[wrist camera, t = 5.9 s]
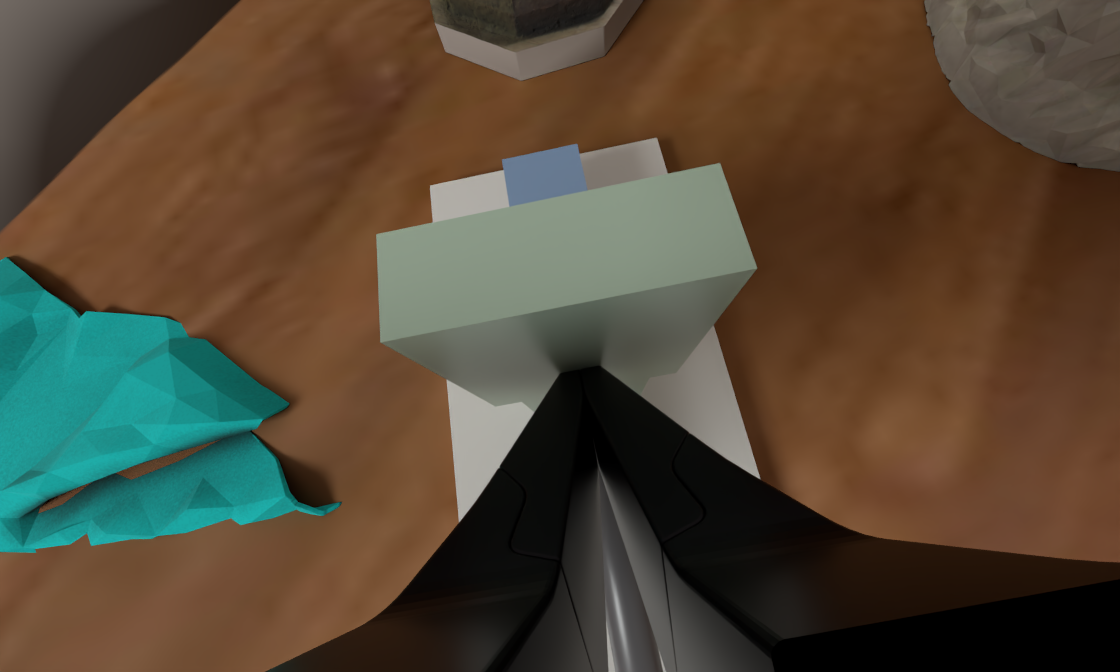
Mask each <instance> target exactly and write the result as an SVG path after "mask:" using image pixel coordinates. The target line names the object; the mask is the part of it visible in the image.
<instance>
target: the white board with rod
mask: <svg viewBox="0 0 1120 672" xmlns="http://www.w3.org/2000/svg"><path fill="white" fill-rule="evenodd" d="M502 163H503V169H504V170H502V171H497V172H492V173H487V174H483V175H478V176H473V177H468V178H464V179H459V180H454V181H450V182H445V183H440V184H435V185H431V186H430V193H431V204H432V216H433V223H434V222H438V221H443V220H448V219H453V218H458V217H462V216H467V215H472V214H477V213H482V212H486V211H491V210H496V209H501V208H506V207H511V206H515V205H520V204H525V203H530V202H535V201H539V200H544V199H549V198H554V197H559V196H563V195H568V194H573V193H578V192H583V191H587V190H592V189H597V188H602V187H607V186H612V185H616V184H621V183H626V182H631V181H636V180H640V179H645V178H650V177H655V176H660V175H664V174H668V173H667V170H666V166H665V163H664V160H663V156H662V153H661V150H660V146H659V143H658V140H657V138H653V139H648V140H643V141H639V142H634V143H629V144H624V145H620V146H615V147H610V148H605V149H601V150H596V151H591V152H587V153H582V154H579V150H578V145H577V144H574V145H569V146H564V147H560V148H555V149H550V150H546V151H541V152H536V153H531V154H527V155H522V156H517V157H513V158H508V159H503V160H502ZM447 388H448V400H449V411H450V423H451V434H452V446H453V457H454V469H455V480H456V492H457V503H458V515H459V522H460V521H461V519H462V518H463V517H464V516H465V514H466V513H467V512H468V510H469V509H470V508H471V507H472V505H473V504H474V503H475V501H476V500H477V498H478V497H479V496H480V494H481V493H482V491H483V490H484V488H485V487H486V486H487V484H488V483H489V481H490V480H491V478H492V477H493V475H494V473H495V472H496V470H497V469H498V468H500V464H501V463H502V461H503V460H504V458H505V457H506V455H507V454H508V452H509V451H510V449H511V448H512V446H513V444H514V443H515V441H516V440H517V438H518V437H519V435H520V434H521V432H522V431H523V429H524V427H525V426H526V424H527V423H528V421H529V420H530V418H531V417H532V415H533V414H534V411H532V410H531V409H530V408H529V407H527V406H526V405H525V404H524V403H522V402H518V403H512V404H507V405H502V406H496V407H495V406H493V405H492V404H490V403H488V402H486V401H484V400H483V399H481V398H479V397H477V396H475V395H474V394H472V393H470V392H468V391H467V390H465V389H463V388H461V387H459V386H458V385H456V384H454V383H452V382H450V381H449V380H447ZM640 396H642V397H643V398H644V399H646V400H647V401H648V402H650V403H651V404H652V405H654V406H655V407H656V408H658V409H659V410H660V411H662V412H663V413H664V414H666V415H667V416H668V417H670V418H671V419H672V420H674V421H675V422H676V423H678V424H679V425H680V426H682V427H683V428H684V429H686V430H687V431H688V432H689V434H693V435H694V436H695V437H697V438H698V439H699V440H701V441H702V442H703V443H705V444H706V445H708V446H709V447H710V448H712V449H713V450H715V451H716V452H717V453H719V454H720V455H722V456H723V457H725V458H726V459H728V460H729V461H731V462H733V463H734V464H736V465H737V466H739V467H741V468H742V469H744V470H746V471H747V472H749V473H750V474H752V475H754V476H755V477H757V478H759V479H760V476H759V473H758V470H757V466H756V463H755V460H754V456H753V453H752V450H751V446H750V443H749V440H748V437H747V433H746V430H745V427H744V423H743V420H742V417H741V414H740V410H739V407H738V404H737V400H736V397H735V394H734V390H733V387H732V384H731V381H730V377H729V374H728V371H727V367H726V364H725V361H724V357H723V354H722V351H721V348H720V344H719V341H718V338H717V334H716V331H715V328H714V325H713V326H712V327H711V329H710V330H709V331H708V333H707V334H706V335H705V336H704V338H703V339H702V340H701V342H700V343H699V344H698V345H697V347H696V348H695V349H694V351H693V352H692V353H691V354H690V356H689V357H688V358H687V360H686V361H685V362H684V364H683V365H682V366H681V367H680V369H679V370H678V371H677V373H672V374H667V375H662V376H656V377H651V378H649V380H648V382H647V384H646V386H645V387H644V389H643V391H642V393H641V395H640ZM595 451H596V450H595ZM596 456H597V455H596ZM597 462H598V460H597ZM598 470H599V484H600V505H601V526H602V546H603V567H604V588H605V608H606V629H607V650H608V670H609V672H666V670H665V667H664V664H663V661H662V658H661V655H660V652H659V649H658V646H657V643H656V640H655V636H654V633H653V630H652V627H651V624H650V621H649V618H648V615H647V612H646V609H645V606H644V603H643V600H642V597H641V594H640V591H639V588H638V585H637V582H636V579H635V576H634V573H633V570H632V567H631V564H630V561H629V558H628V555H627V551H626V548H625V545H624V542H623V539H622V536H621V533H620V530H619V527H618V524H617V521H616V518H615V515H614V512H613V509H612V506H611V503H610V500H609V497H608V494H607V491H606V488H605V485H604V482H603V479H602V475H601V472H600V468H599V464H598Z"/></svg>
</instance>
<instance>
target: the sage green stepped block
mask: <svg viewBox="0 0 1120 672" xmlns="http://www.w3.org/2000/svg"><path fill="white" fill-rule="evenodd" d="M376 236H377V262H378V289H379V316H380V342H381V343H382V344H384V345H386V346H388V347H390V348H391V349H393V350H395V351H397V352H399V353H400V354H402V355H404V356H406V357H408V358H409V359H411V360H413V361H415V362H416V363H418V364H420V365H422V366H424V367H425V368H427V369H429V370H431V371H433V372H434V373H436V374H438V375H440V376H441V377H443V378H445V379H447V380H449V381H450V382H452V383H454V384H456V385H458V386H459V387H461V388H463V389H465V390H467V391H468V392H470V393H472V394H474V395H475V396H477V397H479V398H481V399H483V400H484V401H486V402H488V403H490V404H492V405H493V406H495V407H496V406H502V405H507V404H512V403H518V402H522V403H524V404H525V405H526V406H527V407H529V408H530V409H531V410H532V411H534V412H535V410H536V409H537V407H538V406H539V404H540V403H541V401H542V400H543V398H544V397H545V395H546V393H547V392H548V390H549V389H550V387H551V386H552V384H553V383H554V381H555V380H556V378H557V377H558V375H559V373H563V372H568V371H573V370H581V369H584V368H589V367H594V366H602V367H603V368H604V369H606V370H607V371H608V372H610V373H611V374H612V375H614V376H615V377H616V378H618V379H619V380H620V381H622V382H623V383H624V384H626V385H627V386H628V387H630V388H631V389H632V390H634V391H635V392H636V393H638V394H639V395H641V393H642V391H643V389H644V387H645V386H646V384H647V382H648V380H649V378H651V377H656V376H662V375H667V374H672V373H677V371H678V370H679V369H680V367H681V366H682V365H683V364H684V362H685V361H686V360H687V358H688V357H689V356H690V354H691V353H692V352H693V351H694V349H695V348H696V347H697V345H698V344H699V343H700V342H701V340H702V339H703V338H704V336H705V335H706V334H707V333H708V331H709V330H710V329H711V327H712V326H713V325H714V324H715V322H716V321H717V320H718V318H719V317H720V316H721V315H722V313H723V312H724V311H725V309H726V308H727V307H728V305H729V304H730V303H731V302H732V300H733V299H734V298H735V296H736V295H737V294H738V293H739V291H740V290H741V289H742V287H743V286H744V285H745V284H746V282H747V281H748V280H749V278H750V277H751V276H752V275H753V273H754V272H755V271H756V269H757V266H756V263H755V260H754V258H753V255H752V252H751V249H750V246H749V244H748V241H747V238H746V235H745V232H744V229H743V227H742V224H741V221H740V218H739V215H738V212H737V210H736V207H735V204H734V201H733V198H732V196H731V193H730V190H729V187H728V184H727V181H726V179H725V176H724V173H723V170H722V167H721V164H720V163H717V164H713V165H708V166H703V167H698V168H693V169H689V170H684V171H679V172H674V173H669V174H664V175H660V176H655V177H650V178H645V179H640V180H636V181H631V182H626V183H621V184H616V185H612V186H607V187H602V188H597V189H592V190H587V191H583V192H578V193H573V194H568V195H563V196H559V197H554V198H549V199H544V200H539V201H535V202H530V203H525V204H520V205H515V206H511V207H506V208H501V209H496V210H491V211H486V212H482V213H477V214H472V215H467V216H462V217H458V218H453V219H448V220H443V221H438V222H434V223H429V224H424V225H419V226H414V227H409V228H405V229H400V230H395V231H390V232H385V233H381V234H376ZM580 372H581V371H580Z"/></svg>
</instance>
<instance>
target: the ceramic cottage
mask: <svg viewBox="0 0 1120 672" xmlns="http://www.w3.org/2000/svg"><path fill="white" fill-rule="evenodd" d="M924 3H925V9H926V12H928V13H927V15H926V18H927V26H930V28H931V32H932V36H934V35H935V37H934V42H933V44H934V48H935V55H936V56H937V60H938V62H939V64H940V66H941V69H942V72H943V73H944V74H946V78H948V79H949V80H951V82H950V83H949V86H950V88H951V90H952V92H953V93H954V94H955V96H956V97H957V98H958V99H959V100H960V102H961V103H962V104H963V105H964V106H965V107H966V109H968V111H970V112H971V113H973V114H974V115H975V116H977V117H978V118H979V119H981V120H982V121H984V122H985V123H987V124H988V125H990V126H991V127H993V128H994V129H995V130H997V131H998V132H1000V133H1001V134H1003V135H1005V136H1007V137H1008V138H1010V139H1011V140H1013V141H1015V142H1020V143H1021V144H1022V145H1023V146H1024V147H1026V148H1029V149H1031V150H1032V151H1034V152H1036V153H1039V154H1042V155H1044V156H1047V157H1049V158H1052V159H1055V160H1057V161H1059V162H1064V163H1076V164H1077V166H1078V167H1084V168H1099V169H1104V170H1111V171H1118V172H1120V0H925V1H924Z"/></svg>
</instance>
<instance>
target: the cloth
mask: <svg viewBox="0 0 1120 672" xmlns="http://www.w3.org/2000/svg"><path fill="white" fill-rule="evenodd" d="M289 404H290V403H288V402H287V401H285V400H284V399H282V398H281V397H279V396H278V395H276V394H275V393H274V392H272V391H271V390H269V389H267V388H265V387H264V386H262V385H261V384H259V383H258V382H257V381H256V380H254V379H253V378H252V377H250V376H249V375H248V374H247V373H246V372H244V371H243V370H242V369H241V368H240V367H238V366H237V365H236V364H235V363H233V362H232V361H231V360H230V359H229V358H227V357H226V356H225V355H224V354H222V353H221V352H220V351H219V350H218V349H216V348H215V347H214V346H213V345H212V344H210V343H209V342H208V341H207V340H205V339H198V338H190V337H189V336H188V335H187V333H186V331H185V330H184V328H183V326H182V325H181V323H179V322H176V321H174V320H171V319H168V318H165V317H155V316H144V315H134V314H120V313H105V312H90V311H86V312H85V313H84V314H83V315H82V316H81V315H80V314H79V313H78V311H77V310H76V309H74V308H73V307H71V306H70V305H68V304H66V303H65V302H63V301H62V300H60V299H58V298H57V297H55V296H54V295H52V294H50V293H49V292H47V291H46V290H45V289H44V288H42V287H41V286H40V285H39V284H38V283H37V282H35V281H34V280H33V279H32V278H31V277H30V276H28V275H27V274H26V273H25V272H24V271H22V270H21V269H20V268H19V267H17V266H16V265H15V264H14V263H13V262H11V261H10V259H9V258H8V257H5V258H4V259H2V260H0V552H30V553H36V551H35V549H38V548H46V547H53V546H61V545H68V544H71V543H73V542H74V541H76V540H77V539H79V538H80V537H82V536H83V535H85V534H86V533H87V534H88V537H89V540H90V543H91V546H93V545H99V544H105V543H111V542H117V541H123V540H129V539H153V538H155V537H157V536H161V535H170V534H179V533H187V532H190V531H193V530H196V529H199V528H202V527H205V526H208V525H211V524H214V523H217V522H220V521H223V520H227V519H230V518H232V519H233V520H234V521H236V522H237V523H238V524H240V525H243V524H247V523H252V522H257V521H261V520H266V519H271V518H275V517H278V516H280V515H283V514H286V513H288V512H291V511H294V510H296V509H298V510H299V511H301V512H305V513H308V514H313V515H320V516H324V515H325V514H327V513H329V512H331V511H333V510H334V509H336V508H338V507H339V506H340V505H341V503H342V502H338V503H333V504H329V505H325V506H320V507H316V508H313V507H310V506H308V505H305V504H302V503H300V502H298V501H297V500H296V499H295V498H294V496H293V495H292V494H291V493H290V490H289V488H288V485H287V482H286V479H285V476H284V473H283V470H282V468H281V465H280V462H279V459H278V458H277V457H276V456H275V455H274V454H273V453H272V452H271V451H270V450H269V449H268V448H267V447H266V446H265V445H264V444H263V443H262V442H261V441H260V440H259V439H258V438H257V437H256V436H255V435H254V434H253V433H252V432H251V430H254V429H257V428H258V426H259V425H260V423H261V422H262V421H263V420H265V419H267V418H269V417H271V416H273V415H274V414H276V413H278V412H280V411H282V410H284V409H285V408H287V407H288V405H289ZM220 439H221V440H220ZM217 440H219V441H217ZM213 441H217V442H215V443H213V444H211V445H209V446H207V447H206V448H204V449H202V450H200V451H198V452H196V453H194V454H192V455H190V456H188V457H186V458H184V459H182V460H180V461H178V462H175V463H173V464H170V465H168V466H165V467H163V468H160V469H158V470H155V471H153V472H150V473H148V474H145V475H143V476H140V477H138V478H135V479H132V480H130V479H128V478H126V477H123V476H121V475H118V474H116V472H119V471H121V470H124V469H127V468H129V467H132V466H135V465H138V464H141V463H145V462H148V461H151V460H154V459H157V458H160V457H164V456H167V455H170V454H173V453H176V452H180V451H183V450H186V449H190V448H193V447H196V446H200V445H203V444H207V443H210V442H213ZM90 482H92V483H91V484H89V485H88V486H87V487H85V488H84V489H83V490H81V491H80V492H79V493H77V494H76V495H75V496H73V497H72V498H71V499H69V500H68V501H67V502H65V503H64V504H63V505H60V506H57V507H55V508H52V509H49V510H47V511H44V512H41V513H39V514H38V512H39V509H40V507H41V506H42V505H43V504H44V503H45V502H46V501H47V500H49V499H51V498H53V497H56V496H58V495H61V494H63V493H66V492H68V491H70V490H73V489H75V488H78V487H80V486H83V485H85V484H88V483H90Z"/></svg>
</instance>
